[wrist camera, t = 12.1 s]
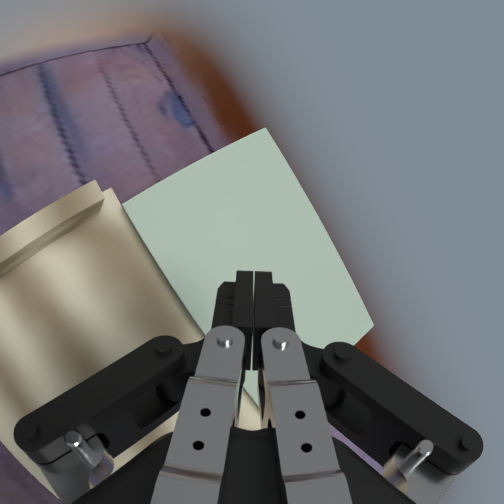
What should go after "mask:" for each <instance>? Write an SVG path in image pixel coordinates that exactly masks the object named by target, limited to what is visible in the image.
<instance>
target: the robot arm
mask: <svg viewBox="0 0 504 504" xmlns="http://www.w3.org/2000/svg"><path fill="white" fill-rule="evenodd" d="M252 335H253V344H252ZM251 353H252V370H253V371H258V382H257V392H258V402H259V412H260V422H261V429H260V430H254V431H250V430H246V429H242V428H238V422H239V415H240V408H241V400H242V393H243V384H244V382H245V375H246V370H251ZM178 411H179V413H178V417H177V421H176V424H175V428H174V431H172V432H169V433H167V434H165V435H163V436H161V437H159V438H158V439H156V440H155V441H153V442H152V443H151V444H150V445H149V446H147V447H146V448H145V449H143V450H142V451H141V452H140V453H138V454H137V455H136V456H135V457H133V458H132V459H131V460H130V461H128V462H127V463H126V464H124V465H123V466H122V467H120V468H119V469H118V470H116V471H115V472H114V473H112V471H113V468H114V460H113V459H114V458H115V457H117V456H118V455H120V454H121V453H123V452H124V451H125V450H127V449H128V448H130V447H131V446H132V445H134V444H135V443H137V442H138V441H139V440H141V439H142V438H144V437H145V436H146V435H148V434H149V433H150V432H152V431H153V430H154V429H156V428H157V427H158V426H160V425H161V424H162V423H164V422H165V421H166V420H168V419H169V418H170V417H172V416H173V415H174V414H176V413H177V412H178ZM328 422H329V423H330V424H331V425H332V426H333V427H335V428H336V429H337V430H338V431H339V432H341V433H342V434H343V435H344V436H345V437H347V438H348V439H349V440H350V441H352V442H353V443H354V444H355V445H356V446H358V447H359V448H360V449H361V450H363V451H364V452H365V453H366V454H368V455H369V456H370V457H371V458H373V459H374V460H375V461H377V462H378V463H379V464H380V465H382V466H383V476H382V475H381V474H379V473H378V472H377V471H376V470H375V469H373V468H372V467H371V466H370V465H369V464H367V463H366V462H365V461H364V460H363V459H362V458H361V457H359V456H358V455H357V454H356V453H355V452H354V451H352V450H351V449H350V448H349V447H348V446H347V445H346V444H344V443H343V442H341V441H340V440H338V439H336V438H334V437H332V436H331V432H330V428H329V424H328ZM13 436H14V440H15V442H16V444H17V446H18V447H19V448H20V449H21V450H23V451H24V452H25V453H26V454H27V455H28V457H29V458H30V459H31V460H32V461H33V462H34V463H35V464H36V465H37V466H38V467H40V469H41V471H42V472H43V474H44V476H45V477H46V479H47V481H48V482H49V484H50V485H51V487H52V488H53V490H54V491H55V493H56V494H57V496H58V497H59V499H60V500H61V502H62V503H63V504H438V502H439V501H440V500H441V498H442V497H443V495H444V494H445V492H446V491H447V489H448V488H449V486H450V485H451V483H452V482H453V480H454V479H455V477H456V476H457V475H459V474H460V473H461V472H462V471H464V470H465V469H466V468H467V467H469V466H470V465H471V464H472V463H473V462H475V461H476V460H477V459H478V458H479V457H480V456H481V454H482V451H483V441H482V438H481V436H480V435H479V433H478V432H477V431H475V430H474V429H473V428H471V427H470V426H468V425H467V424H465V423H464V422H462V421H461V420H459V419H458V418H456V417H455V416H453V415H452V414H451V413H449V412H448V411H446V410H445V409H443V408H442V407H440V406H439V405H437V404H436V403H435V402H433V401H432V400H430V399H429V398H427V397H426V396H424V395H423V394H421V393H420V392H419V391H417V390H416V389H414V388H413V387H411V386H410V385H409V384H407V383H406V382H404V381H403V380H401V379H400V378H398V377H397V376H396V375H394V374H392V373H391V372H390V371H388V370H387V369H386V368H384V367H383V366H381V365H380V364H378V363H377V362H375V361H374V360H373V359H371V358H370V357H369V356H367V355H366V354H364V353H363V352H361V351H360V350H359V349H357V348H356V347H354V346H353V345H351V344H349V343H346V342H332V343H330V344H328V345H327V346H326V347H325V348H324V349H321V348H317V347H313V346H310V345H308V344H306V343H304V342H303V341H301V340H300V337H299V336H298V335H297V334H296V331H295V324H294V317H293V310H292V303H291V296H290V291H289V289H288V288H287V287H286V286H285V284H284V283H273V279H272V272H270V271H255V277H254V296H253V271H242V270H237V272H236V282H227V281H224V282H223V283H222V284H221V285H220V286H219V287H218V290H217V296H216V302H215V308H214V314H213V320H212V326H211V330H210V331H209V332H208V333H207V334H206V336H205V338H204V339H202V340H200V341H198V342H194V343H189V344H182V343H181V341H180V340H179V339H177V338H175V337H173V336H168V335H162V336H157V337H154V338H152V339H150V340H149V341H147V342H146V343H144V344H142V345H141V346H139V347H138V348H136V349H134V350H133V351H131V352H130V353H128V354H126V355H125V356H123V357H121V358H120V359H118V360H117V361H115V362H113V363H112V364H110V365H109V366H107V367H105V368H104V369H102V370H100V371H99V372H97V373H95V374H94V375H92V376H91V377H89V378H87V379H86V380H84V381H82V382H81V383H79V384H77V385H76V386H74V387H72V388H71V389H69V390H67V391H66V392H64V393H62V394H61V395H59V396H57V397H56V398H54V399H52V400H51V401H49V402H47V403H46V404H44V405H42V406H41V407H39V408H37V409H36V410H34V411H32V412H31V413H29V414H27V415H26V416H24V417H22V418H21V419H20V420H19V421H18V422H17V423H16V425H15V427H14V431H13ZM111 473H112V474H111ZM110 474H111V475H110Z"/></svg>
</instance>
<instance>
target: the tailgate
mask: <svg viewBox="0 0 504 504" xmlns="http://www.w3.org/2000/svg"><path fill="white" fill-rule="evenodd" d="M122 206H123V209H124V210H125V212H126V214H127V216H128V217H129V219H130V221H131V222H132V224H133V226H134V228H135V229H136V231H137V233H138V234H139V236H140V238H141V239H142V241H143V243H144V244H145V246H146V247H147V249H148V251H149V252H150V254H151V256H152V257H153V259H154V260H155V262H156V264H157V265H158V267H159V268H160V270H161V271H162V273H163V275H164V276H165V278H166V279H167V281H168V282H169V284H170V285H171V287H172V288H173V290H174V291H175V293H176V294H177V296H178V297H179V299H180V300H181V302H182V303H183V305H184V306H185V308H186V309H187V311H188V312H189V314H190V315H191V317H192V318H193V320H194V321H195V322H196V324H197V325H198V327H199V328H200V330H201V331H202V333H203V334H204V335H205V336H206V334H207V333H208V332H209V331H210V330H211V326H212V320H213V314H214V308H215V302H216V296H217V290H218V287H219V286H220V285H221V284H222V283H223V282H224V281H227V282H236V272H237V270H242V271H253V296H254V277H255V271H270V272H272V279H273V283H284V284H285V286H286V287H287V288H288V289H289V291H290V296H291V303H292V310H293V317H294V324H295V331H296V334H297V335H298V336H299V337H300V340H301V341H303V342H304V343H306V344H308V345H310V346H313V347H317V348H321V349H324V348H325V347H326V346H327V345H328V344H330V343H332V342H346V343H349V344H351V345H353V346H354V345H355V344H356V342H358V341H359V340H360V339H361V338H362V337H363V336H364V335H365V334H366V333H367V332H368V331H369V330H370V329H371V328H372V327H373V326H374V324H373V322H372V320H371V318H370V316H369V314H368V312H367V310H366V308H365V306H364V304H363V302H362V299H361V297H360V295H359V293H358V291H357V289H356V287H355V286H354V283H353V281H352V279H351V278H350V275H349V273H348V271H347V270H346V268H345V266H344V264H343V262H342V260H341V258H340V256H339V254H338V252H337V250H336V248H335V247H334V245H333V243H332V241H331V239H330V237H329V236H328V233H327V232H326V230H325V228H324V226H323V224H322V222H321V221H320V219H319V217H318V215H317V214H316V212H315V210H314V208H313V206H312V205H311V203H310V201H309V199H308V198H307V196H306V194H305V192H304V191H303V189H302V187H301V185H300V184H299V182H298V180H297V179H296V177H295V175H294V173H293V172H292V170H291V168H290V167H289V165H288V164H287V162H286V160H285V159H284V157H283V155H282V153H281V152H280V150H279V149H278V147H277V145H276V144H275V142H274V141H273V139H272V137H271V136H270V134H269V132H268V131H267V129H266V128H263V129H261V130H259V131H257V132H255V133H253V134H251V135H249V136H247V137H244V138H242V139H240V140H238V141H236V142H234V143H232V144H230V145H228V146H226V147H224V148H222V149H220V150H218V151H216V152H214V153H212V154H210V155H208V156H206V157H204V158H202V159H200V160H198V161H197V162H195V163H193V164H191V165H189V166H187V167H185V168H184V169H182V170H180V171H178V172H176V173H174V174H173V175H171V176H169V177H167V178H165V179H164V180H162V181H160V182H158V183H157V184H155V185H153V186H152V187H150V188H148V189H146V190H145V191H143V192H141V193H140V194H138V195H136V196H135V197H133V198H131V199H130V200H128V201H126V202H125V203H123V204H122ZM252 344H253V335H252ZM257 382H258V371H253V370H252V353H251V370H246V375H245V382H244V384H243V388H244V389H245V391H246V392H247V393H248V394H249V396H250V397H251V398H252V400H253V401H254V402H255V403H256V405H257V406H258V407H259V402H258V392H257Z"/></svg>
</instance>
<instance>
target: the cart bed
mask: <svg viewBox="0 0 504 504" xmlns="http://www.w3.org/2000/svg"><path fill="white" fill-rule="evenodd" d="M162 335H168V336H173V337H175V338H177V339H179V340H180V341H181V343H182V344H189V343H194V342H198V341H200V340H202V339H204V338H205V336H204V335H203V333H202V332H201V330H200V329H199V327H198V326H197V325H196V323H195V322H194V320H193V319H192V317H191V316H190V314H189V313H188V311H187V310H186V309H185V307H184V306H183V304H182V303H181V301H180V300H179V298H178V297H177V295H176V294H175V292H174V291H173V289H172V288H171V286H170V284H169V283H168V281H167V280H166V278H165V277H164V275H163V274H162V272H161V270H160V269H159V267H158V266H157V264H156V263H155V261H154V259H153V258H152V256H151V255H150V253H149V251H148V250H147V248H146V246H145V245H144V243H143V242H142V240H141V238H140V237H139V235H138V233H137V232H136V230H135V228H134V227H133V225H132V223H131V221H130V220H129V218H128V216H127V215H126V213H125V211H124V209H123V208H122V206H121V204H120V202H119V201H118V199H117V197H116V195H115V193H114V192H113V190H112V188H109V189H107V190H106V191H104V192H102V191H101V190H100V188H99V186H98V184H97V182H96V180H93V181H91V182H89V183H88V184H86V185H84V186H82V187H80V188H78V189H76V190H75V191H73V192H71V193H69V194H67V195H66V196H64V197H62V198H60V199H59V200H57V201H55V202H53V203H52V204H50V205H48V206H47V207H45V208H43V209H42V210H40V211H38V212H37V213H35V214H33V215H32V216H30V217H29V218H27V219H25V220H24V221H22V222H21V223H19V224H18V225H16V226H15V227H13V228H12V229H10V230H9V231H7V232H6V233H4V234H3V235H1V236H0V441H1V442H2V443H3V444H4V445H5V447H6V448H7V449H8V450H9V451H10V452H11V453H12V454H13V455H14V457H15V458H16V459H17V460H18V461H19V462H20V463H21V464H22V465H23V466H24V467H25V468H26V469H27V470H28V471H29V472H30V473H31V474H32V475H33V476H34V477H35V478H36V479H37V480H38V481H39V482H40V483H41V484H43V485H44V486H45V487H46V488H47V489H48V490H49V491H50V492H51V493H53V494H54V495H55V496H56V497H57V498H58V499H59V497H58V496H57V494H56V493H55V491H54V490H53V488H52V487H51V485H50V484H49V482H48V481H47V479H46V477H45V476H44V474H43V472H42V471H41V469H40V467H38V466H37V465H36V464H35V463H34V462H33V461H32V460H31V459H30V458H29V457H28V455H27V454H26V453H25V452H24V451H23V450H21V449H20V448H19V447H18V446H17V444H16V442H15V440H14V436H13V431H14V427H15V425H16V423H17V422H18V421H19V420H20V419H21V418H22V417H24V416H26V415H27V414H29V413H31V412H32V411H34V410H36V409H37V408H39V407H41V406H42V405H44V404H46V403H47V402H49V401H51V400H52V399H54V398H56V397H57V396H59V395H61V394H62V393H64V392H66V391H67V390H69V389H71V388H72V387H74V386H76V385H77V384H79V383H81V382H82V381H84V380H86V379H87V378H89V377H91V376H92V375H94V374H95V373H97V372H99V371H100V370H102V369H104V368H105V367H107V366H109V365H110V364H112V363H113V362H115V361H117V360H118V359H120V358H121V357H123V356H125V355H126V354H128V353H130V352H131V351H133V350H134V349H136V348H138V347H139V346H141V345H142V344H144V343H146V342H147V341H149V340H150V339H152V338H154V337H157V336H162ZM178 413H179V411H178V412H177V413H176V414H174V415H173V416H172V417H170V418H169V419H168V420H166V421H165V422H164V423H162V424H161V425H160V426H158V427H157V428H156V429H154V430H153V431H152V432H150V433H149V434H148V435H146V436H145V437H144V438H142V439H141V440H139V441H138V442H137V443H135V444H134V445H132V446H131V447H130V448H128V449H127V450H125V451H124V452H123V453H121V454H120V455H118V456H117V457H115V458H114V459H113V460H114V468H113V471H112V473H114V472H115V471H116V470H118V469H119V468H120V467H122V466H123V465H124V464H126V463H127V462H128V461H130V460H131V459H132V458H133V457H135V456H136V455H137V454H138V453H140V452H141V451H142V450H143V449H145V448H146V447H147V446H149V445H150V444H151V443H152V442H153V441H155V440H156V439H158V438H159V437H161V436H163V435H165V434H167V433H169V432H172V431H174V428H175V424H176V421H177V417H178ZM238 428H242V429H246V430H250V431H254V430H260V429H261V422H260V412H259V408H258V406H257V405H256V404H255V403H254V401H253V400H252V399H251V397H250V396H249V395H248V394H247V392H246V391H245V390H244V389H243V393H242V400H241V408H240V415H239V422H238ZM112 473H111V474H112ZM111 474H110V475H111Z"/></svg>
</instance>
